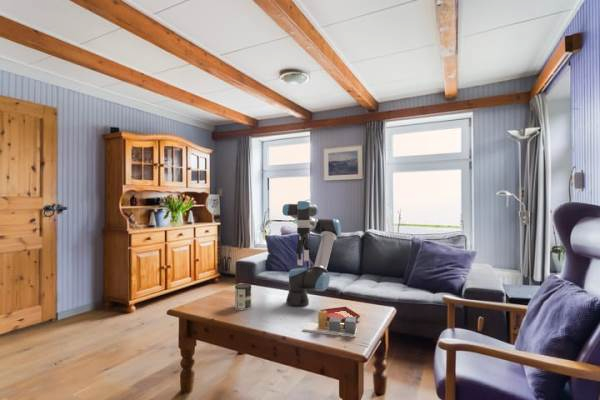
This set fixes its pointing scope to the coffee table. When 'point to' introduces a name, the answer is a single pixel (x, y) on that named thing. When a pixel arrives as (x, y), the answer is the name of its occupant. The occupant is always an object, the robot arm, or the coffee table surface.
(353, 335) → the base board
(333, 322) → the grey speckled block
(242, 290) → the coffee can
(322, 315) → the yellow wall block
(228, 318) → the coffee table surface
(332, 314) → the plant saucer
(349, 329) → the socket
